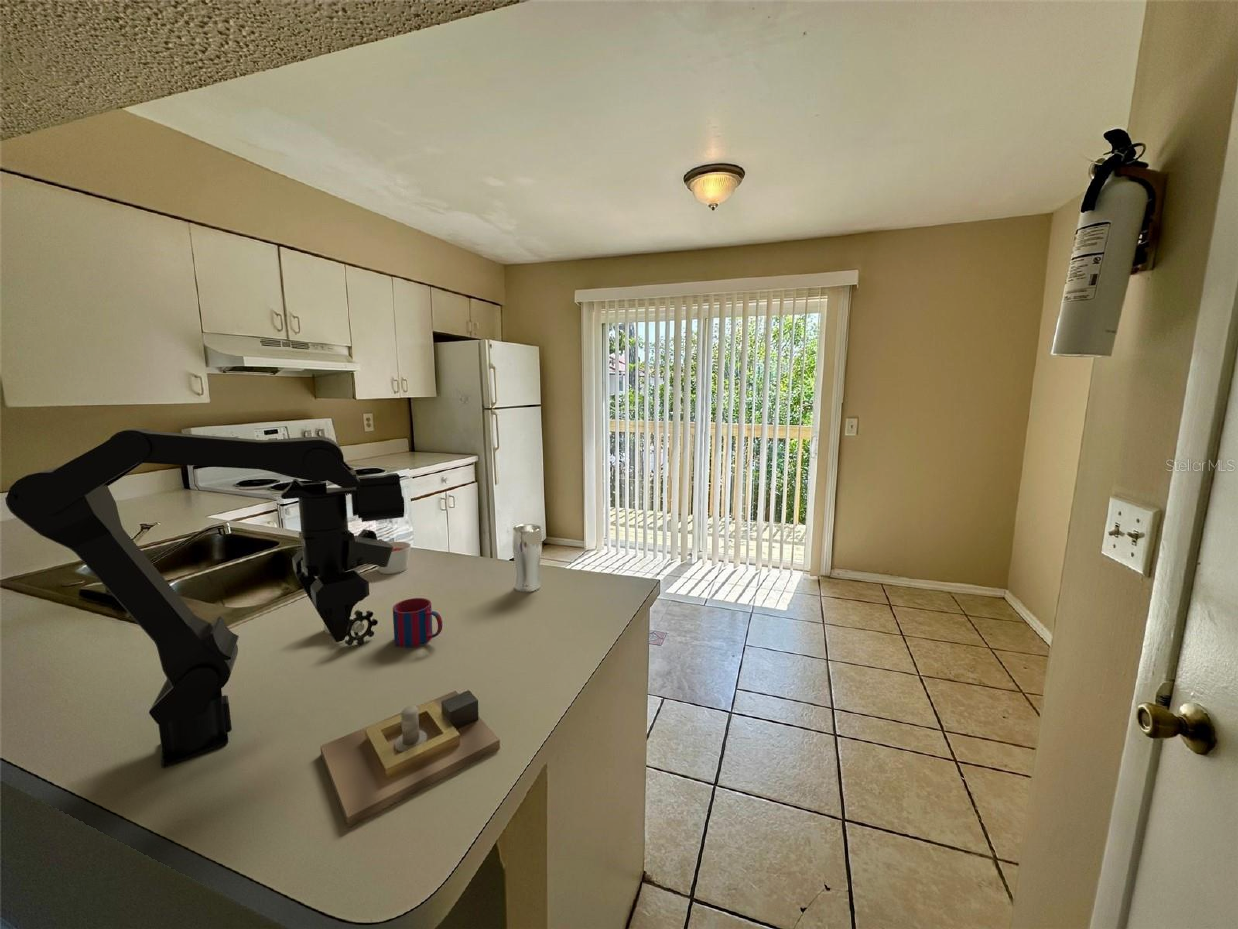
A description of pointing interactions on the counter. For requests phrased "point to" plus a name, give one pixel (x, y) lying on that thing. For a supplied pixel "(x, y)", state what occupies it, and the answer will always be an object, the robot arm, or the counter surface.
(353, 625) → the valve
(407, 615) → the mug
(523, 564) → the beer glass
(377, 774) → the plate
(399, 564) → the candle
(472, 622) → the counter surface
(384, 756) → the brass link
